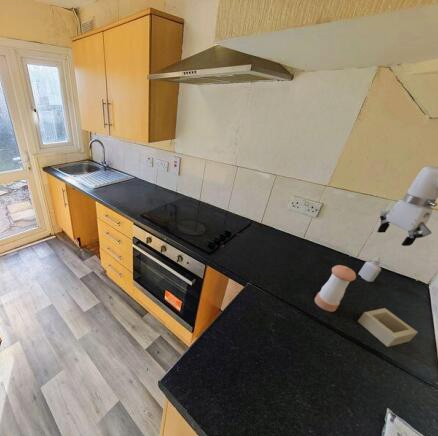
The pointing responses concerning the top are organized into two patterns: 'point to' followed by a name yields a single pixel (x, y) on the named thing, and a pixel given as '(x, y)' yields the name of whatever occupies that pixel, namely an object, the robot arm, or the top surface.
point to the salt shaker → (334, 288)
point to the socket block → (382, 316)
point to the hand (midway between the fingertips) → (392, 238)
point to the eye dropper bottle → (370, 270)
